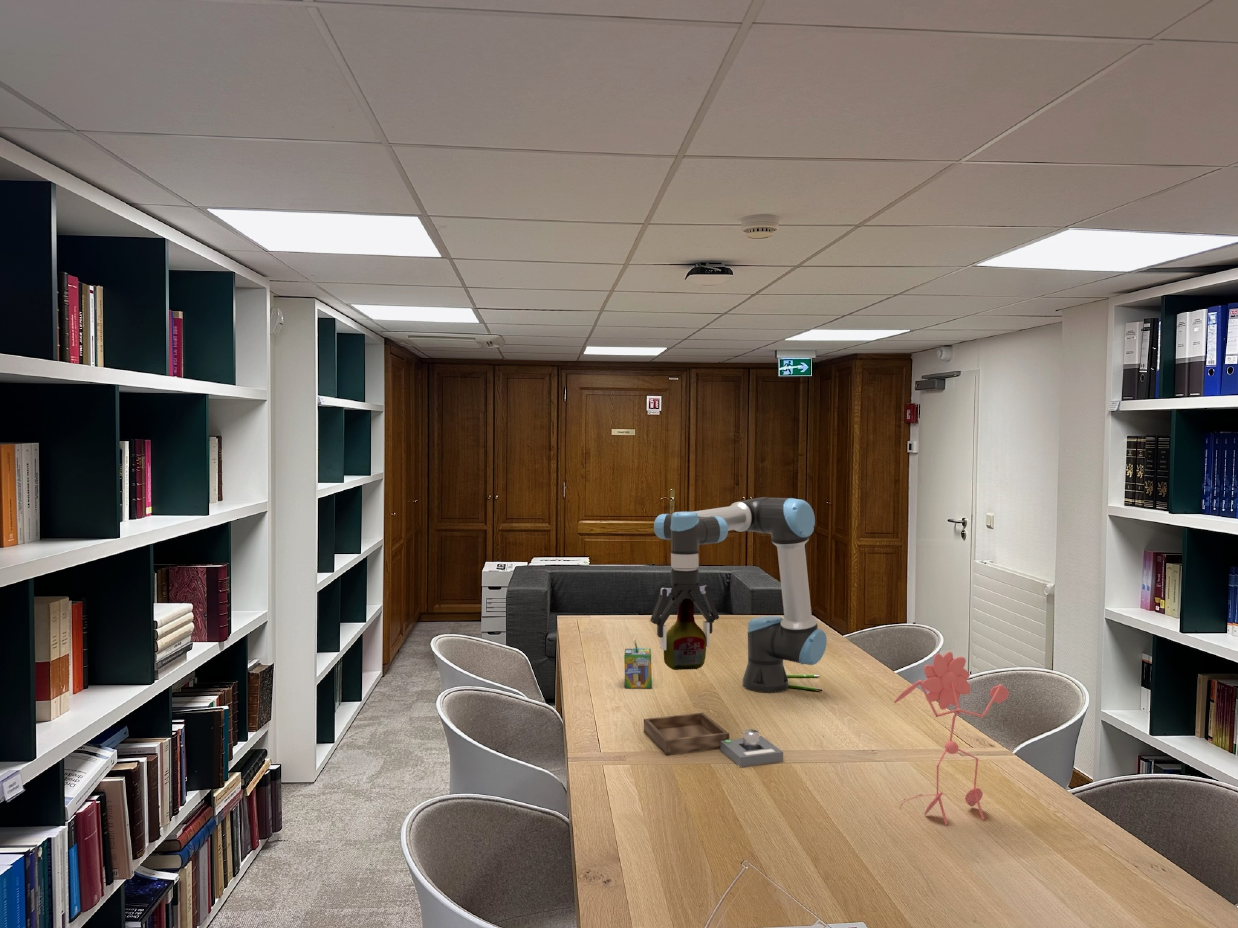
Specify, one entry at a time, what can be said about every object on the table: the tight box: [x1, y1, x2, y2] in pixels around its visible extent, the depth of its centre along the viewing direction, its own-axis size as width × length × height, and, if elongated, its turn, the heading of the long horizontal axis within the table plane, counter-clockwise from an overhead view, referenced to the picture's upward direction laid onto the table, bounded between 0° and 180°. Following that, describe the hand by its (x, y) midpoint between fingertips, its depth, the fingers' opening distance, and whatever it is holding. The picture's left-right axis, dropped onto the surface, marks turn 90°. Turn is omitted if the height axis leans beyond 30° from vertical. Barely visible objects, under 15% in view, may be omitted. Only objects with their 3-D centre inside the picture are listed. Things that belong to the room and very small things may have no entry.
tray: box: [643, 712, 730, 756], centre depth 222 cm, size 18×18×4 cm
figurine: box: [893, 651, 1010, 826], centre depth 179 cm, size 15×26×35 cm, turn 104°
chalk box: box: [623, 640, 653, 689], centre depth 274 cm, size 9×9×15 cm
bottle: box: [663, 598, 707, 671], centre depth 221 cm, size 12×6×20 cm, turn 94°
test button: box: [742, 729, 760, 751], centre depth 210 cm, size 4×4×4 cm
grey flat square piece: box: [719, 735, 784, 768], centre depth 210 cm, size 12×12×3 cm
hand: (685, 647), depth 222 cm, fingers closed on bottle, 12 cm apart
